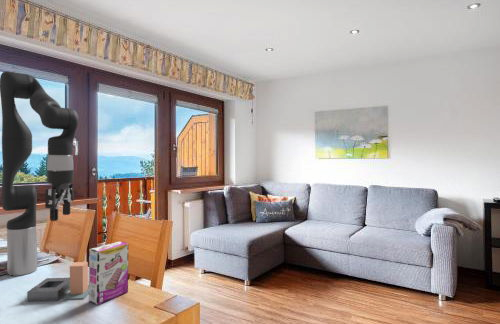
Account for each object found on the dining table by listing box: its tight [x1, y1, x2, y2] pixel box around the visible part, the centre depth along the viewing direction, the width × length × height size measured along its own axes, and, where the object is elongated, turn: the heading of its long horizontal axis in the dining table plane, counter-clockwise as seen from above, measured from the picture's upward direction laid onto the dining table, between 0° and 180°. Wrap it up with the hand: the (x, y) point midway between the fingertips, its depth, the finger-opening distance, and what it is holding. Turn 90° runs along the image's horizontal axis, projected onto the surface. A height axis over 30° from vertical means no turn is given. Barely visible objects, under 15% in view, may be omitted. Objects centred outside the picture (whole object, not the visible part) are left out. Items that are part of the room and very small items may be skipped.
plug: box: [69, 261, 89, 294], centre depth 106 cm, size 4×4×9 cm
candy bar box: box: [88, 241, 129, 306], centre depth 102 cm, size 11×5×16 cm, turn 149°
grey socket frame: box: [26, 277, 70, 303], centre depth 105 cm, size 11×9×3 cm
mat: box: [63, 284, 89, 301], centre depth 106 cm, size 10×6×1 cm, turn 5°
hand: (60, 217), depth 106 cm, fingers open, 8 cm apart
